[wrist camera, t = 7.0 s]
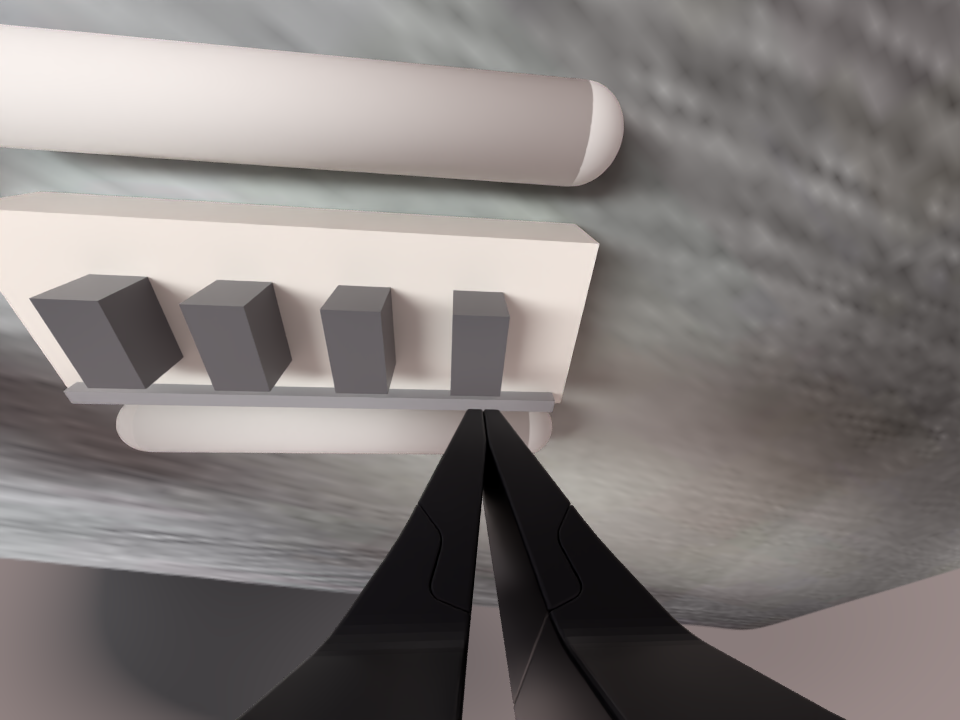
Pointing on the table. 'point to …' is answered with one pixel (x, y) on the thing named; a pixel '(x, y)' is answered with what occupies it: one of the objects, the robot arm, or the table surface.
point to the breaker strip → (294, 303)
